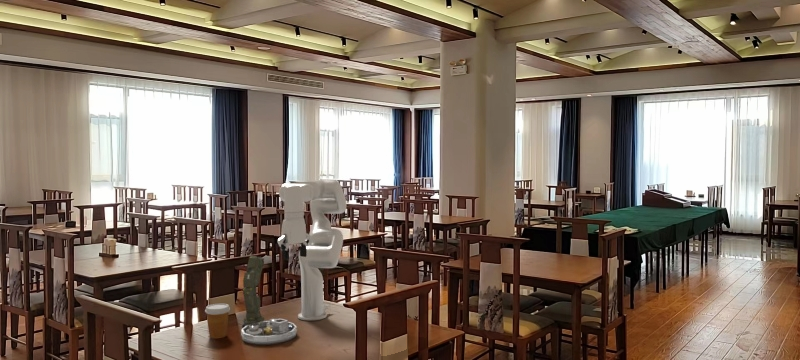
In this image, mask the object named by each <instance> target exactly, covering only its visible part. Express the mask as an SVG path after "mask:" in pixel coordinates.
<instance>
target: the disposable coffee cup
mask: <svg viewBox="0 0 800 360" xmlns="http://www.w3.org/2000/svg"><path fill="white" fill-rule="evenodd" d="M230 310H231V307H230V305H229V304H227V303H213V304H208V305H207V306H206V307H205V310H204V312H205V314H206V321H207V326H208V334H209V338H211V339H223V338H226V336H227V333H228V323H229V314H230V313H229V312H230Z"/></svg>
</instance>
